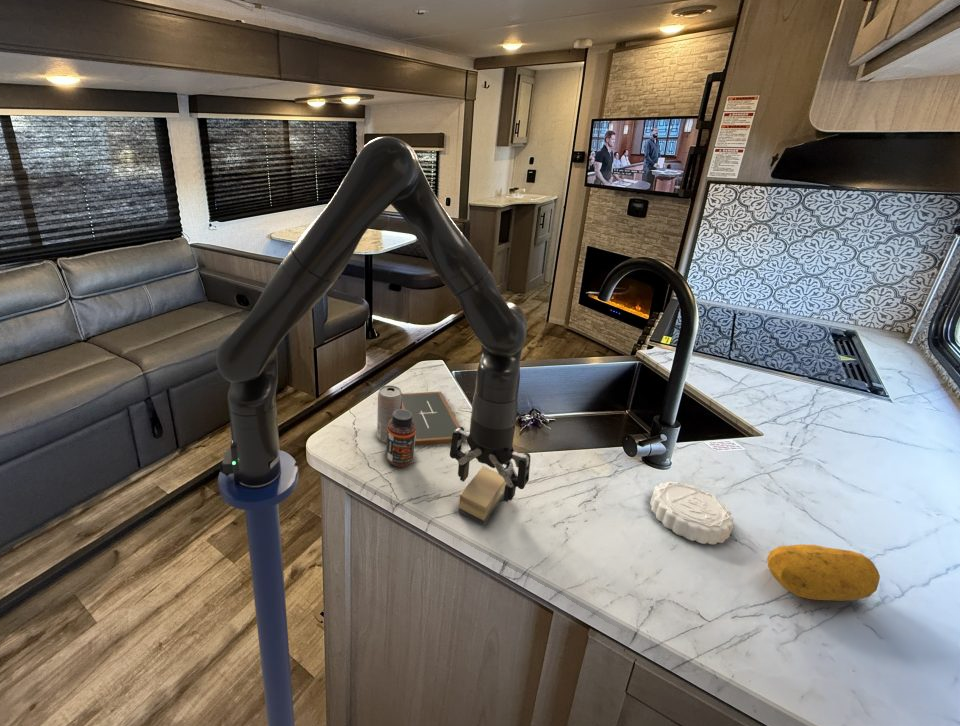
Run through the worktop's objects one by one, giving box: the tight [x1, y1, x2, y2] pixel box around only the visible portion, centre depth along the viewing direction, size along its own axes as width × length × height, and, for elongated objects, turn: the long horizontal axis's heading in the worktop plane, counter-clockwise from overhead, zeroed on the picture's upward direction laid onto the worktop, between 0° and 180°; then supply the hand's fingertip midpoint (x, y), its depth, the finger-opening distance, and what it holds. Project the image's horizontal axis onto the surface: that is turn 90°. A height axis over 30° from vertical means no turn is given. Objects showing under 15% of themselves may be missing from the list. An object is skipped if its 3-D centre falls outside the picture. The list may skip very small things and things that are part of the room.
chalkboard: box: [402, 390, 467, 447], centre depth 112 cm, size 12×20×1 cm, turn 7°
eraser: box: [457, 465, 506, 526], centre depth 86 cm, size 10×5×4 cm, turn 142°
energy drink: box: [376, 384, 403, 444], centre depth 104 cm, size 5×5×12 cm
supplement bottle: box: [385, 409, 416, 468], centre depth 96 cm, size 6×6×11 cm
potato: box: [766, 544, 881, 602], centre depth 69 cm, size 7×14×7 cm, turn 85°
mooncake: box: [649, 481, 735, 545], centre depth 83 cm, size 12×12×4 cm
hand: (485, 488), depth 86 cm, fingers open, 8 cm apart
